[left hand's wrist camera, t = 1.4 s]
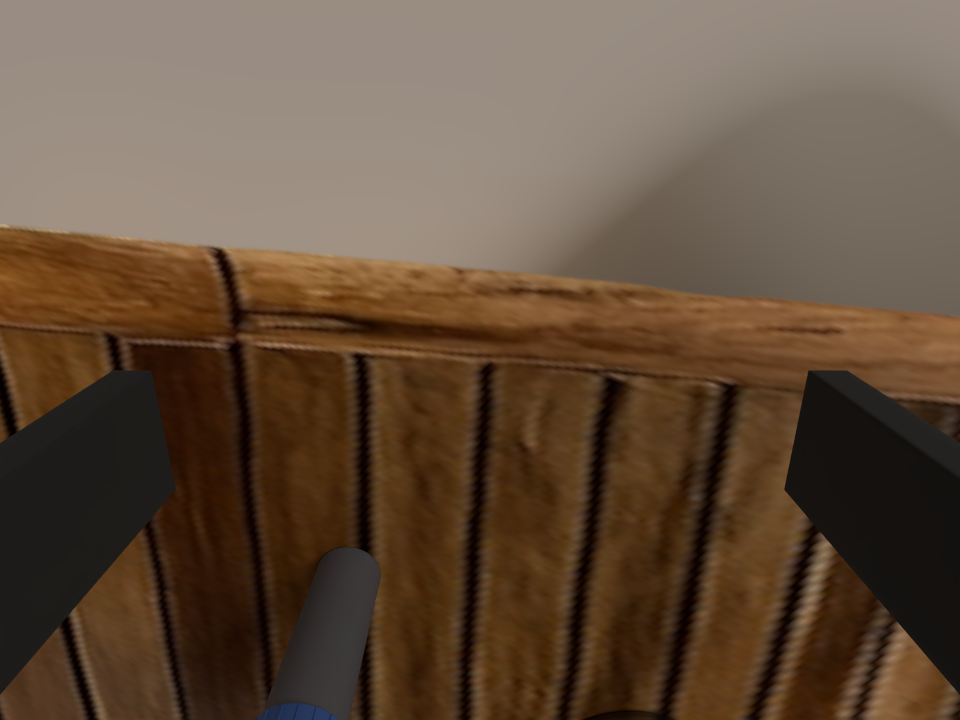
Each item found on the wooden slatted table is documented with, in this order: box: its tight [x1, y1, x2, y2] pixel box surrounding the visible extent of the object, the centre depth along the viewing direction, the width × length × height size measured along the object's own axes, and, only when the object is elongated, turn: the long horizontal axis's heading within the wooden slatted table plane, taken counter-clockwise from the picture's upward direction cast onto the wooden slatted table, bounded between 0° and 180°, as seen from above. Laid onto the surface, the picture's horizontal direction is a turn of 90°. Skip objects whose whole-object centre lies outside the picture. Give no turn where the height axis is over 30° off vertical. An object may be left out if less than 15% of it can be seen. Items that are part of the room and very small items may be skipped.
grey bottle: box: [264, 547, 380, 720], centre depth 40 cm, size 5×5×16 cm
